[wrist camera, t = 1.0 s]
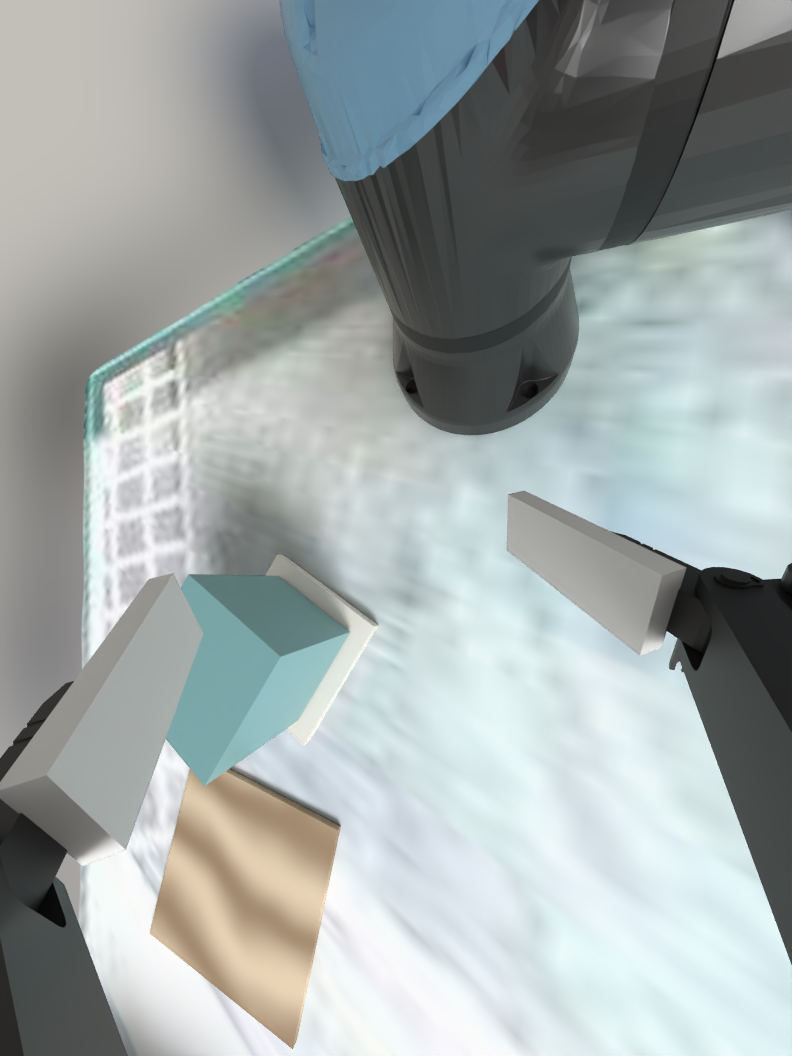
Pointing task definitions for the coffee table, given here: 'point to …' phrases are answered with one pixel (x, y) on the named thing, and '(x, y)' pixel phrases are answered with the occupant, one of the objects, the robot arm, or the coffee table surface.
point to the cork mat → (247, 894)
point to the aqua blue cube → (248, 667)
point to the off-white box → (346, 656)
